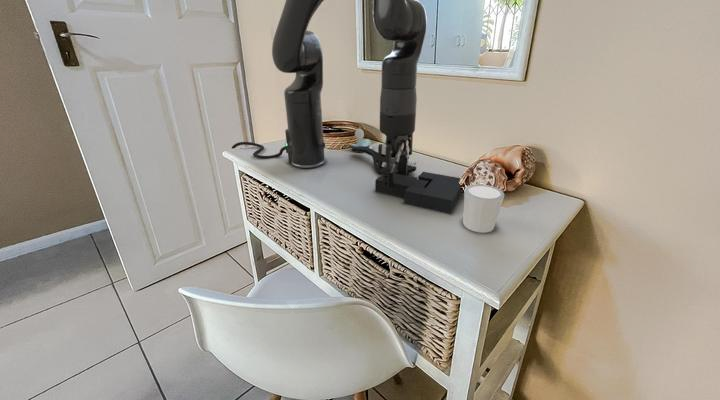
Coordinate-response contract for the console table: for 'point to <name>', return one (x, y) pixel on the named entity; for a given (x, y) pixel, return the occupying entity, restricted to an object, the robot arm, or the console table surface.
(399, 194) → the pad
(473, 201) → the white cylinder
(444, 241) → the console table surface
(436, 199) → the notch pad
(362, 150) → the hairbrush
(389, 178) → the robot arm
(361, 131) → the pacifier
